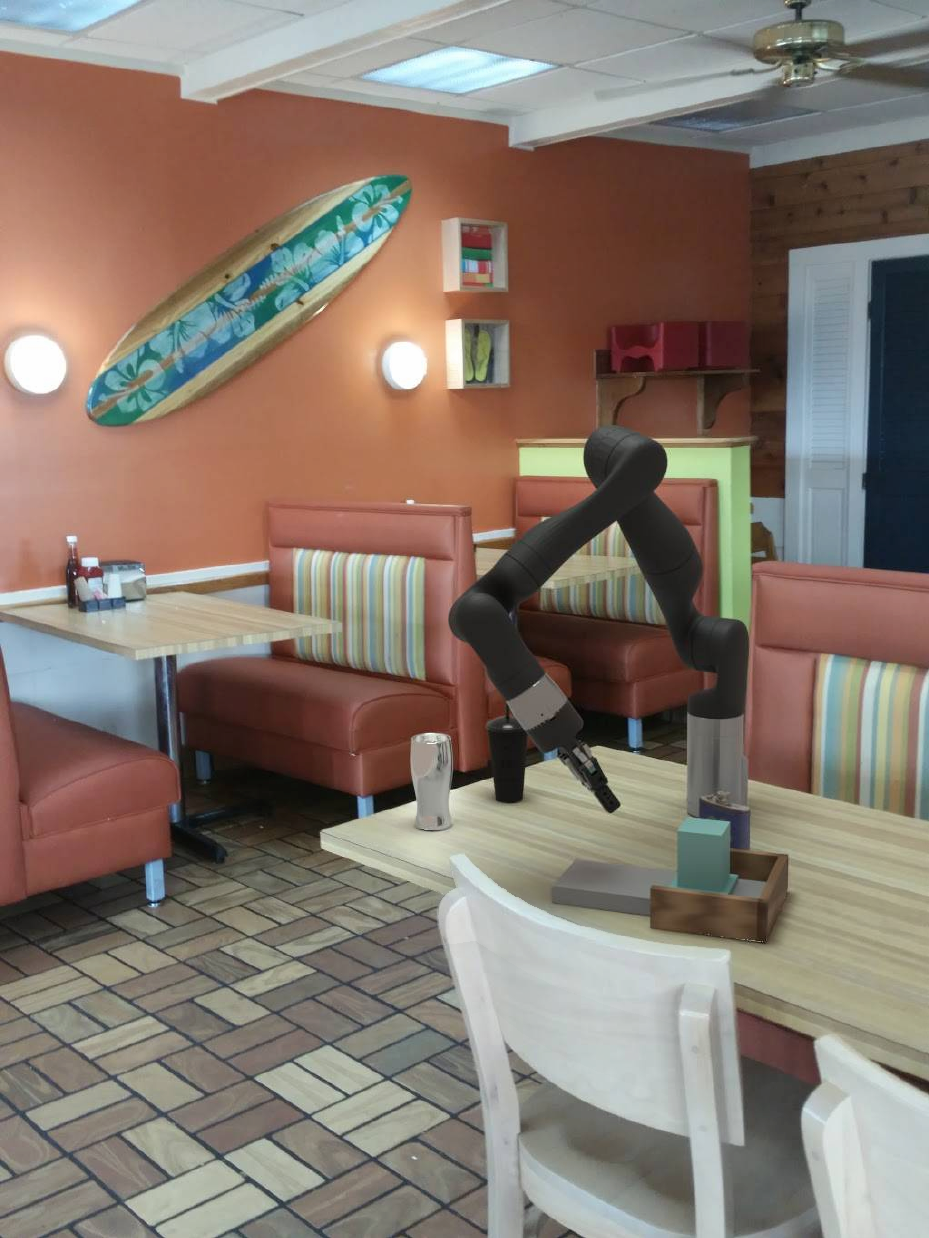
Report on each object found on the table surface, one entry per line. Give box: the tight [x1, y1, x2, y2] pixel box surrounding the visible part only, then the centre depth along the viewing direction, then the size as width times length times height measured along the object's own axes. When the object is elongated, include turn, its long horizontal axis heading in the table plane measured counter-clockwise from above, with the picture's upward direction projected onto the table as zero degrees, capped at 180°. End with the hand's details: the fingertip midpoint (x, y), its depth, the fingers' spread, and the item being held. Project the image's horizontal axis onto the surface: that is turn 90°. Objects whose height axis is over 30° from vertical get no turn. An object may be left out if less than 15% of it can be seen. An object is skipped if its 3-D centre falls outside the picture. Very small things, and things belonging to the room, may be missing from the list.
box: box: [649, 848, 789, 943], centre depth 176 cm, size 15×18×6 cm
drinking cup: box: [485, 700, 529, 804], centre depth 225 cm, size 8×8×20 cm
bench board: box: [551, 858, 766, 917], centre depth 180 cm, size 28×11×2 cm, turn 68°
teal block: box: [669, 816, 738, 895], centre depth 177 cm, size 8×8×9 cm
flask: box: [699, 791, 752, 850], centre depth 195 cm, size 9×3×11 cm, turn 40°
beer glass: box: [410, 732, 454, 831], centre depth 213 cm, size 7×7×15 cm
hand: (614, 809), depth 183 cm, fingers closed
